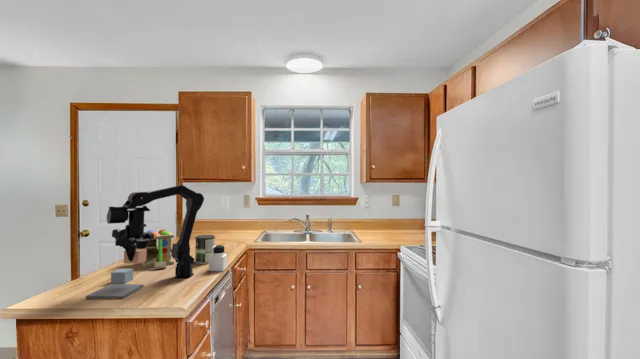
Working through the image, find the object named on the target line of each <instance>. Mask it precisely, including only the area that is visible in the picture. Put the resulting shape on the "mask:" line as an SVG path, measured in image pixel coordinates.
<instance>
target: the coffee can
mask: <svg viewBox="0 0 640 359" xmlns="http://www.w3.org/2000/svg"><path fill="white" fill-rule="evenodd" d="M215 240H216V235H213V234H201V235H196V236H195V247H194V248H195V252H194V253H195V258H194V259H195V260H194V264H197V265H207V264H208V265H209V257H210V256H211V255H213V254H212V247H213V246H215V244H216V243H215V242H216V241H215Z"/></svg>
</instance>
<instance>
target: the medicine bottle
mask: <svg viewBox="0 0 640 359" xmlns="http://www.w3.org/2000/svg"><path fill="white" fill-rule="evenodd" d="M212 254H213V255H211V256H210V257H209V263H208V271H209V272H224V271H225V270H226V269H227V268H228V254H227V253H225V246H224V245H222V244H218V245H215V246H213V247H212Z"/></svg>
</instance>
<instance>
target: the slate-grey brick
mask: <svg viewBox="0 0 640 359" xmlns="http://www.w3.org/2000/svg"><path fill="white" fill-rule="evenodd" d="M133 280H134V268H118V269H116V270H113V271H111V272H110V284H128V283H129V282H132V281H133Z"/></svg>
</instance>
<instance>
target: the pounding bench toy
mask: <svg viewBox="0 0 640 359" xmlns="http://www.w3.org/2000/svg"><path fill="white" fill-rule="evenodd" d="M146 232H152V233H153V234H154V239H151V240H150V239H147V240H150V242H149V244H148V245H147V247H146V261H143V262H141V263H140V264H141V266H142V267H143V268H144V269H149V268H154V270H163V269H167V266H169V265H175V260H174V259H173V258H172V256H171V253H172V252H170V251H171V250H172V239H174V238H175V234H174V233H173V232H171V231H168V230H166V229H161V230H159V231H157V232H155V231H154V230H152V229H151V230H150V229H148V230H147V231H146ZM157 243H158V244H157Z"/></svg>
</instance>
